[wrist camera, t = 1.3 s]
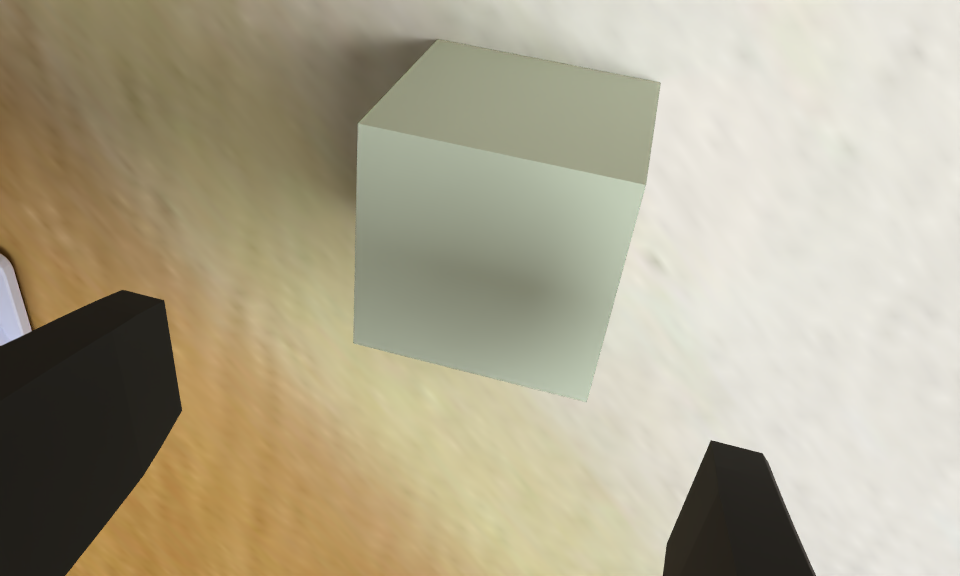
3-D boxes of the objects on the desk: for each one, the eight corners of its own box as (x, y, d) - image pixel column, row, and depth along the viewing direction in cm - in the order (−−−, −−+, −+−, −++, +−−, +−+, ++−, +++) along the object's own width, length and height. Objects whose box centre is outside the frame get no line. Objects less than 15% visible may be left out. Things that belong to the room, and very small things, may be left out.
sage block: (423, 226, 18) (353, 343, 15) (438, 38, 15) (357, 123, 12) (611, 269, 18) (586, 402, 14) (660, 81, 15) (646, 184, 11)
